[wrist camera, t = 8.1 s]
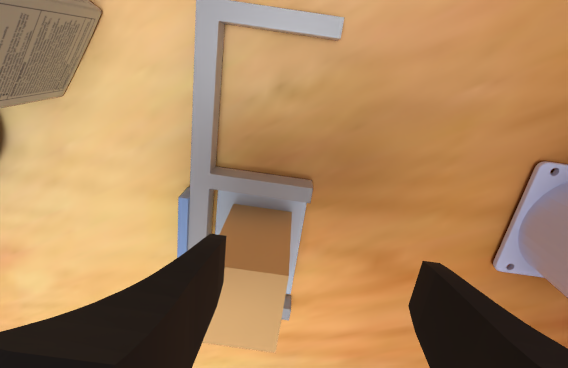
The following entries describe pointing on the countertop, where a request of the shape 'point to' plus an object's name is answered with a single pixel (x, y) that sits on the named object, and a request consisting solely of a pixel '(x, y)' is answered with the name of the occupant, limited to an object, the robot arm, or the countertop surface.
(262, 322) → the tan cardboard-colored block
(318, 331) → the countertop surface
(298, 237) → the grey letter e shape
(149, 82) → the countertop surface
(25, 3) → the skincare box
